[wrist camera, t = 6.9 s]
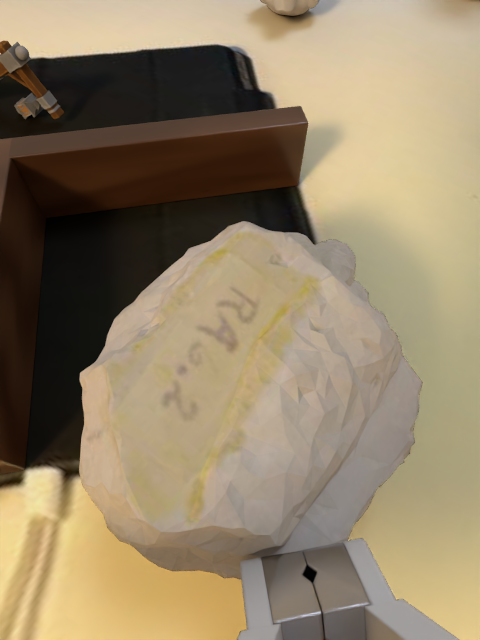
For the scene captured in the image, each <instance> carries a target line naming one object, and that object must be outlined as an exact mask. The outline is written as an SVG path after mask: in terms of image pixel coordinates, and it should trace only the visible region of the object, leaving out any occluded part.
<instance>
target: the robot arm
mask: <svg viewBox="0 0 480 640" xmlns="http://www.w3.org/2000/svg"><path fill="white" fill-rule="evenodd" d="M240 572H241V580H242V589H243V598H244V607H245V616H246V625H247V630H244V631H240V634H239V636H238V638H237V640H459V639H458V638H456V637H455V636H454V635H452V634H451V633H449V632H448V631H447V630H445V629H444V628H443V627H441V626H440V625H438V624H437V623H436V622H434V621H433V620H431V619H430V618H429V617H427V616H426V615H424V614H423V613H422V612H420V611H419V610H417V609H416V608H415V607H413V606H412V605H411V604H409V603H408V602H406V601H405V600H404V599H400V600H396V598H395V597H394V595H393V593H392V591H391V589H390V587H389V585H388V583H387V581H386V579H385V577H384V576H383V574H382V572H381V570H380V568H379V566H378V564H377V562H376V560H375V558H374V556H373V555H372V553H371V551H370V549H369V547H368V545H367V543H366V541H365V540H364V539H362V538H360V539H355V540H350V541H345V542H342V543H341V542H339V543H334V544H329V545H324V546H319V547H314V548H309V549H304V550H302V551H295V552H289V553H283V554H277V555H270V556H264V557H261V558H254V559H248V560H242V561H240Z"/></svg>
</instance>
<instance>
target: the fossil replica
mask: <svg viewBox="0 0 480 640" xmlns="http://www.w3.org/2000/svg"><path fill="white" fill-rule="evenodd" d="M355 267H356V263H355V255H354V254H353V252H352V250H351V249H350V248H349V246H348V245H347V244H345V243H342V242H340V241H338V240H326V241H322V242H320V243H318V244H316V245H314V244H313V243H312V242H311V241H310V240H309V239H308V237H307V236H305V235H302V234H300V233H288V232H287V233H283V232H274V231H269V230H266V229H264V228H261V227H259V226H257V225H254V224H252V223H250V222H245V221H243V222H240V223H237V224H234V225H231V226H229V227H227V228H226V230H224V231H222V232H221V233H220V234H219V235H218V236H216V237H215V238H214V239H213V240H212V241H209V242H207V243H204V244H201V245H198V246H195V247H192V248H189V249H188V251H187V252H186V254H185V255H184V256H183V257H182V258H180V259H179V260H178V261H177V262H175V263H174V264H173V265H172V266H170V267H169V268H168V269H167V270H166V271H165V272H164V273H163V274H162V275H160V276H159V277H158V278H157V279H156V280H155V281H154V282H153V283H152V284H150V285H149V286H148V287H147V288H146V289H145V290H144V291H142V292H141V293H140V295H139V296H138V297H137V299H136V300H135V301H134V303H132V304H131V305H129V306H128V307H126V308H125V309H123V311H122V312H121V313H120V314H119V315H118V316H117V317H116V318H115V319H114V321H113V324H112V326H111V328H110V330H109V333H108V335H107V340H106V344H105V347H104V349H103V351H102V352H101V354H100V356H99V357H98V359H97V361H96V362H95V363H93V364H92V365H91V366H89V367H88V368H86V369H85V370H84V371H82V372H81V373H80V383H81V386H82V389H83V391H82V403H83V410H84V428H83V433H82V438H81V453H80V468H79V472H80V477H81V481H82V485H83V487H84V489H85V490H86V492H87V493H88V495H89V496H90V498H91V499H92V501H93V502H94V503H95V505H96V506H97V507H98V508H99V510H100V511H101V512H102V513H103V515H104V518H105V521H106V524H107V528H108V529H109V530H110V531H111V532H112V533H113V534H114V535H115V536H116V537H117V539H118V540H119V541H122V542H125V543H127V544H130V545H131V546H133V547H134V548H135V549H136V550H137V551H138V552H140V553H141V554H142V555H143V556H144V557H145V558H147V559H148V560H149V561H151V562H153V563H154V564H156V565H157V566H159V567H162V568H165V569H168V570H171V571H197V570H200V571H206V572H212V573H216V574H218V575H220V576H221V577H223V578H233V577H234V578H237V579H241V572H240V561H242V560H248V559H254V558H261V557H264V556H270V555H277V554H283V553H289V552H295V551H302V550H304V549H309V548H314V547H319V546H324V545H329V544H334V543H339V542H341V543H342V542H345V541H348V539H349V536H350V533H351V530H352V528H353V526H354V525H355V523H356V522H357V521H358V520H359V519H360V518H361V516H362V515H363V514H364V513H365V511H366V510H367V509H368V507H369V505H370V502H371V500H372V498H373V496H374V494H375V492H376V490H377V488H378V487H380V486H381V485H382V484H383V483H384V482H385V481H386V480H387V479H388V478H389V477H390V476H391V475H392V474H393V472H394V471H395V470H396V468H397V467H398V466H399V465H401V464H402V463H404V459H405V458H406V457H407V456H408V455H409V454H410V448H411V446H412V445H413V444H414V443H415V441H414V435H413V429H414V425H415V421H416V418H417V415H418V412H419V395H420V391H421V387H422V381H421V380H420V378H419V377H418V376H417V374H416V373H415V372H414V371H413V369H412V368H411V367H410V365H409V364H408V362H407V361H406V359H405V358H404V356H403V355H402V349H401V345H400V342H399V340H398V337H397V335H396V333H395V332H394V331H393V330H391V328H390V326H389V324H388V322H387V320H386V318H385V316H384V314H383V313H381V312H380V311H378V310H376V309H374V308H373V307H372V306H371V305H370V303H369V301H368V295H369V293H368V292H367V291H366V290H365V288H364V287H363V286H362V285H361V284H360V283H358V282H357V281H355V280H354V275H355Z"/></svg>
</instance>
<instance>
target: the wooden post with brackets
mask: <svg viewBox="0 0 480 640" xmlns="http://www.w3.org/2000/svg"><path fill="white" fill-rule="evenodd" d="M0 53H1V54H0V80H1V79H2V78H3V77H5V76H6V75H9V76H11V77H12V78H14V79H15V80H17V81H18V82H20V83H21V84H23V85H24V86H26V87H27V88H29V89H30V90H31V91H32V92H33V93H34V94H35V95H36V97H35V96H34V95H33V94H32V93H31V94H30V95H29V96H28V97H27V98H25V99H24V98H22V99H21V100H20V101H19V102H18V103H16V104H15V105H14V106H15V107H16V109H17V111H18V113H20V114H21V115H22V116H23V117H24V118H25V119H26V118H27V117H28V116H29V115H31V114H32V116H33V117H35V116H36V115H37V114H38V113H39V112H41V111H42V110H43V109H47V110H48V113H49V114H51V116H52V117H53V119H57V118H59V117H60V116H61V115H62V114H63V113H64V111H63V110H62V109H61V108H60V106H59V105H58V104H57V103H56V102H57V100H56V99H55V98H54V97H53V95H52V94H51V93H50V91H47V90H46V89H45V88H44V86H43V85H42V84H41V82H40V81H39V80H38V79H37V77H36V76H35V75H34V73H33V72H32V71H31V70H30V68H29V67H28V66H27V64H26V62H28V61H29V60H30V59H31V58H30V57H29V52H28V50H27V49H26V48H25V47H23V46H20V44H19V43H18V42H17V43H15V44H14V45H13V46H11V45H10V44H9V42H8V41H2V42H0ZM14 70H15V71H16V72H17V73H16V72H15V71H14Z"/></svg>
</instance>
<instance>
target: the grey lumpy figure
mask: <svg viewBox="0 0 480 640" xmlns="http://www.w3.org/2000/svg"><path fill="white" fill-rule="evenodd" d="M260 1H261V2H262V3H265V4H267V6H268V7H269V8H270V9H271V10H272V11H274V12H275V13H278V14H282V15H290V16H295V15H300V14H303V13H305V12H306V11H308V9H310V8H314V7H315V6H316V4H317V3H318V1H319V0H260Z"/></svg>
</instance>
